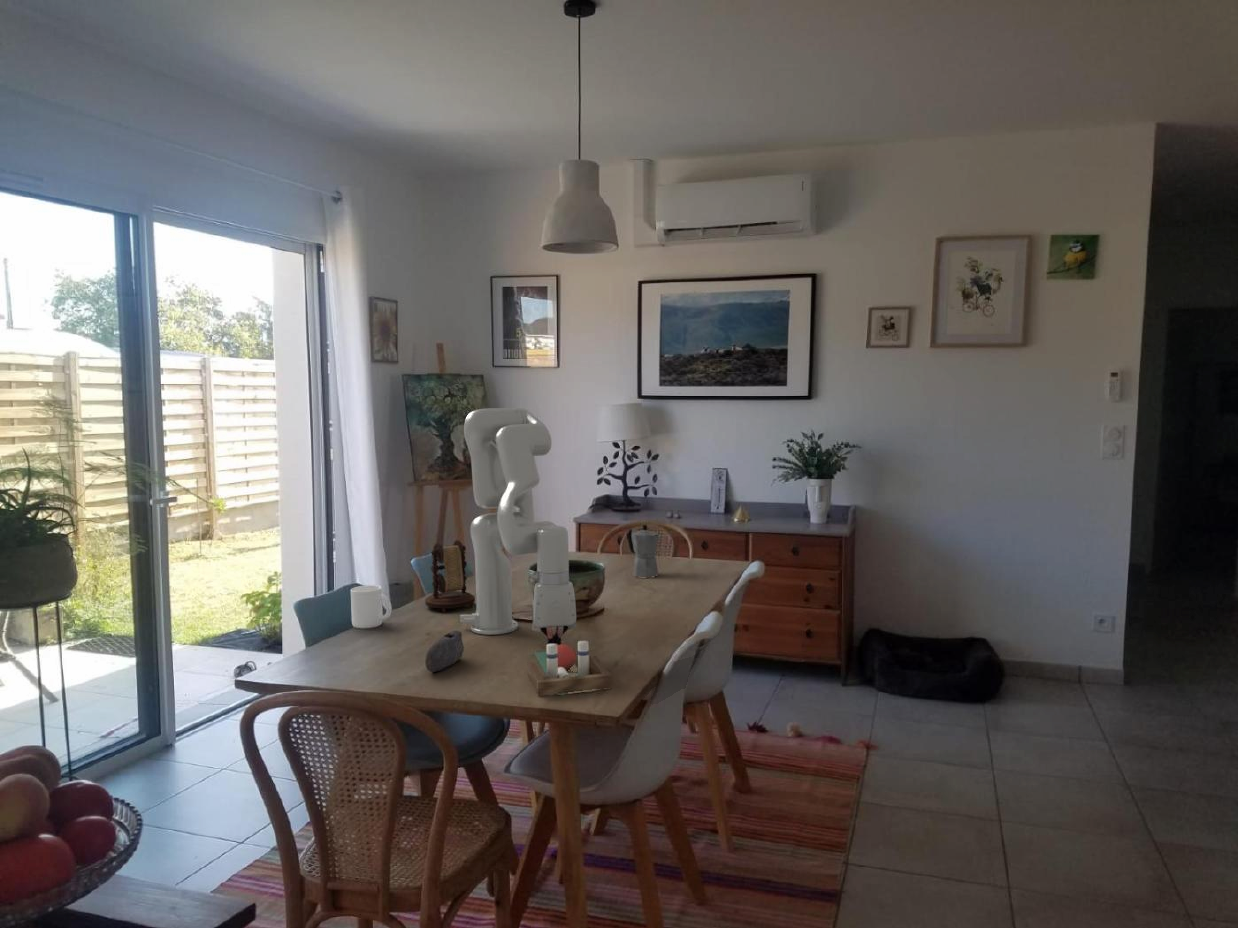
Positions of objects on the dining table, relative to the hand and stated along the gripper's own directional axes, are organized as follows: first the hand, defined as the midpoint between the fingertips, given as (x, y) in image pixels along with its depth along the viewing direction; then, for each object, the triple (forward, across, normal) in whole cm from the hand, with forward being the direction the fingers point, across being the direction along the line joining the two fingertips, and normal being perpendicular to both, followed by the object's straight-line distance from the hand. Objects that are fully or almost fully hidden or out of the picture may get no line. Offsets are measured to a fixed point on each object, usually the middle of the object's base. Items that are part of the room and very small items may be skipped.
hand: (554, 652), depth 200 cm
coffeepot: (+2, +47, +82) cm, 94 cm away
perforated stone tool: (+2, -26, +2) cm, 26 cm away
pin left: (+2, -4, -16) cm, 17 cm away
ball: (-2, 0, -9) cm, 9 cm away
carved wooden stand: (+2, -21, +58) cm, 62 cm away
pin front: (0, -1, -13) cm, 13 cm away
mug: (+2, -43, +44) cm, 62 cm away
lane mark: (+2, 0, -10) cm, 10 cm away
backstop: (+2, 0, -17) cm, 17 cm away
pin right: (+2, +4, -16) cm, 17 cm away
